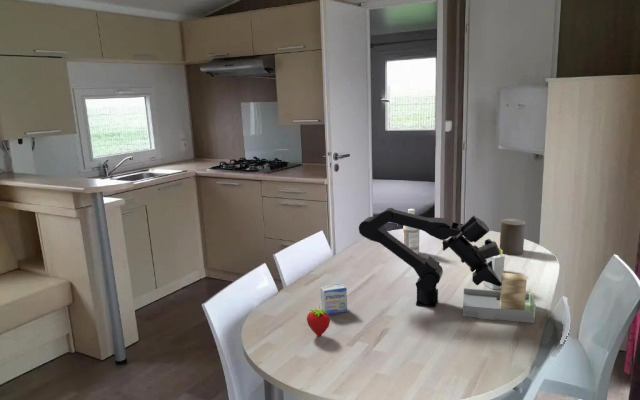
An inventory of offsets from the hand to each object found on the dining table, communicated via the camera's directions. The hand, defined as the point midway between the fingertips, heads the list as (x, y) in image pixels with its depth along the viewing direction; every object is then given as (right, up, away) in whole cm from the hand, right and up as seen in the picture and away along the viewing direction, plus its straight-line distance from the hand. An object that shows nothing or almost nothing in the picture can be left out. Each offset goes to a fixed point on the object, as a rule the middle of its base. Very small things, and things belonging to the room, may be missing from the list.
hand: (500, 285), depth 153 cm
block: (+4, -7, +1) cm, 8 cm away
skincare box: (+5, -4, +21) cm, 22 cm away
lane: (0, -8, +2) cm, 9 cm away
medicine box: (-53, -10, +7) cm, 54 cm away
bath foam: (-17, +4, +59) cm, 61 cm away
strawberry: (-58, -14, -9) cm, 60 cm away
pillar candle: (+26, +5, +55) cm, 61 cm away
